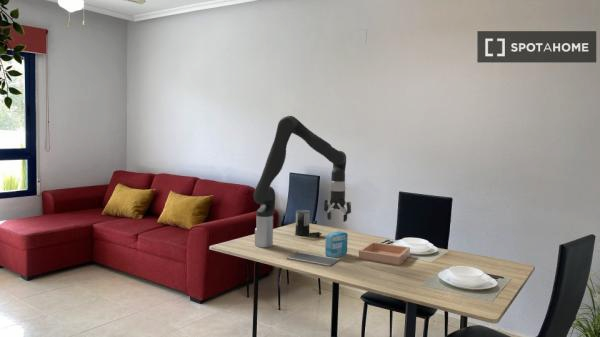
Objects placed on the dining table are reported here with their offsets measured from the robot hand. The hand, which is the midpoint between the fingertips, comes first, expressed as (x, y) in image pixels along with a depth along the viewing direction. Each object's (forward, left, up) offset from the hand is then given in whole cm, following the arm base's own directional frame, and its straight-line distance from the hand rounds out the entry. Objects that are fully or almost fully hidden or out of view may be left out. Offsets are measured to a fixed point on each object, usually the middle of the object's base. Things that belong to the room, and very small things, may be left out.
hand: (337, 220), depth 235 cm
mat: (-7, -13, -19) cm, 24 cm away
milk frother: (-32, +30, -19) cm, 48 cm away
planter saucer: (+23, +10, -19) cm, 31 cm away
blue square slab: (0, 0, -19) cm, 19 cm away
